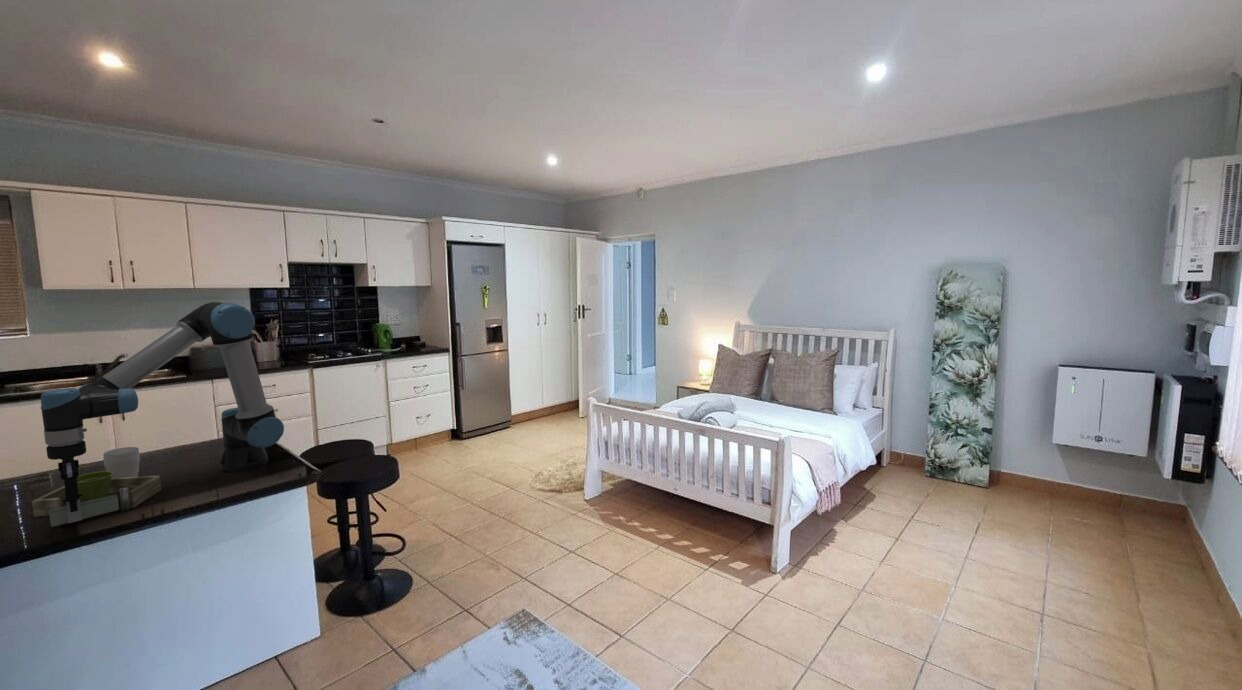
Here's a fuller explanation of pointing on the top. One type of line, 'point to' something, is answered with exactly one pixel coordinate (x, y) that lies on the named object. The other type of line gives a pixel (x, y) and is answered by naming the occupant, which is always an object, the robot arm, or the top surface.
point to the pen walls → (137, 489)
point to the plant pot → (94, 485)
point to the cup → (122, 462)
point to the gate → (86, 509)
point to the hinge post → (124, 498)
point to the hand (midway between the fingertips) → (75, 520)
